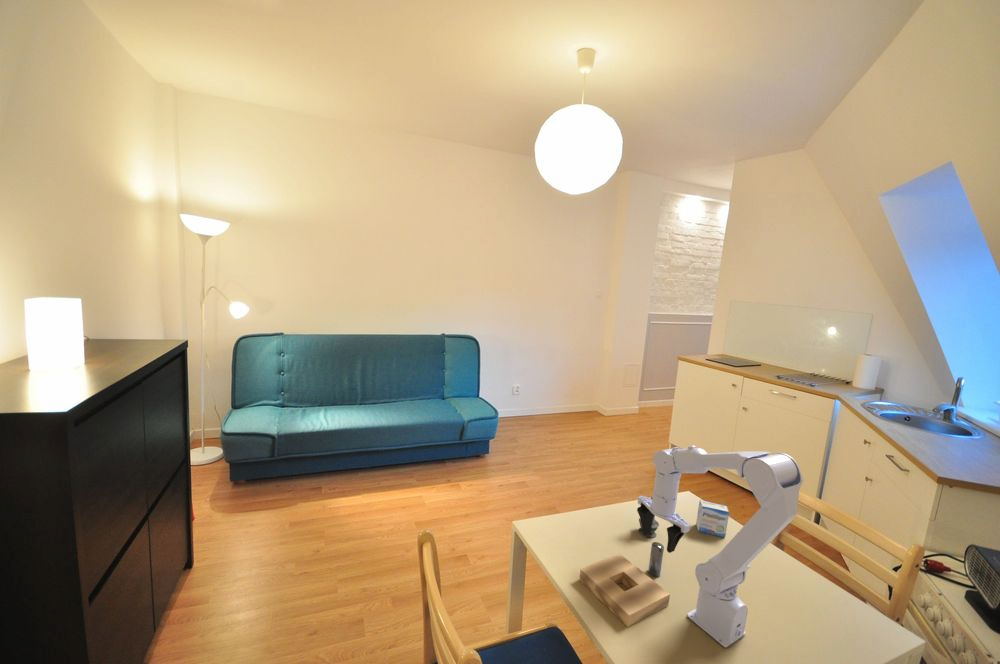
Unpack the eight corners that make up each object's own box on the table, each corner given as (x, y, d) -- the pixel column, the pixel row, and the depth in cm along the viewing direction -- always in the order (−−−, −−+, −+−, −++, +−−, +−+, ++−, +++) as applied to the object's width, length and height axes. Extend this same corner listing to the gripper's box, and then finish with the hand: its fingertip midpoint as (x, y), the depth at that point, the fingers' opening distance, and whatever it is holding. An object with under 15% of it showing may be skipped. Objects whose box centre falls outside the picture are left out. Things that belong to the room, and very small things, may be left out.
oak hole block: (668, 605, 99) (670, 594, 99) (627, 627, 92) (629, 615, 92) (618, 563, 113) (619, 553, 112) (579, 579, 106) (580, 568, 105)
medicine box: (697, 531, 130) (701, 506, 129) (695, 524, 134) (699, 499, 133) (725, 538, 128) (729, 512, 127) (722, 530, 132) (726, 504, 131)
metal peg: (662, 575, 109) (666, 547, 108) (654, 578, 108) (658, 550, 107) (653, 567, 112) (656, 540, 111) (645, 571, 110) (649, 543, 109)
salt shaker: (654, 528, 130) (659, 492, 129) (659, 540, 124) (665, 503, 123) (635, 525, 131) (640, 490, 129) (639, 537, 125) (644, 500, 123)
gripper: (700, 505, 103) (692, 554, 105) (652, 478, 115) (646, 523, 117) (682, 511, 99) (674, 563, 101) (635, 483, 111) (628, 529, 113)
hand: (658, 542), depth 109 cm, fingers open, 7 cm apart
